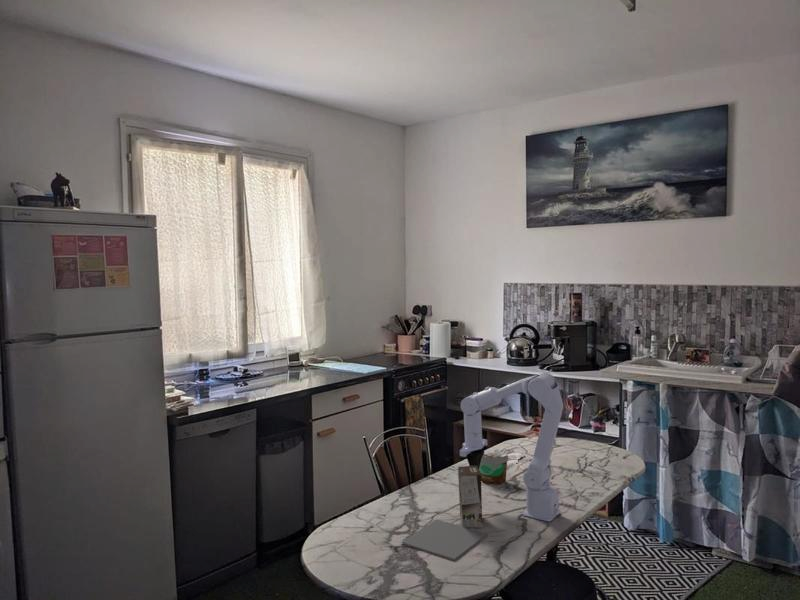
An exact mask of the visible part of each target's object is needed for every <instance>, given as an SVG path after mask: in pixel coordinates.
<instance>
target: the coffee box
mask: <svg viewBox="0 0 800 600" xmlns="http://www.w3.org/2000/svg"><path fill="white" fill-rule="evenodd" d="M457 475H458V476H457V477H458V478H457V479H458V496H459V497H458V499H459V518H460V522H461V526H463V527H466V528H470V529H472V528H473V529H474V528H483V506H482V505H483V501H482V499H483V498H482V496H483V495H482V482H481V474H480V471H479V469H478V466H469V465H465V466H462V465H461V466H457Z"/></svg>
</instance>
